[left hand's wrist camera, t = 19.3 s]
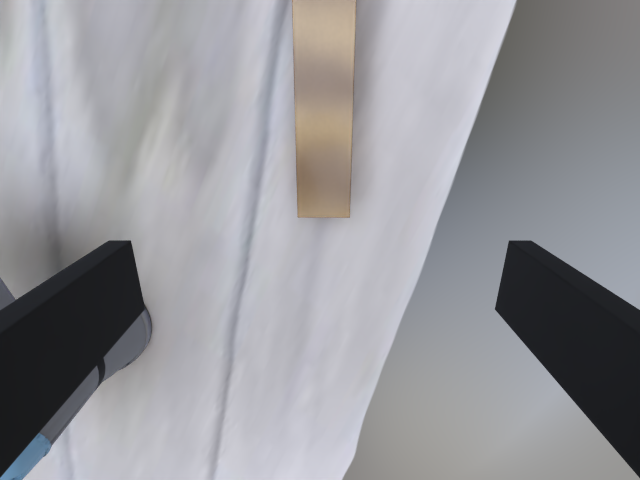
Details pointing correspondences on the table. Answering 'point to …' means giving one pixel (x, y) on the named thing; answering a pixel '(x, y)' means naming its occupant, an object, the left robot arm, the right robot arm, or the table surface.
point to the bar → (323, 104)
